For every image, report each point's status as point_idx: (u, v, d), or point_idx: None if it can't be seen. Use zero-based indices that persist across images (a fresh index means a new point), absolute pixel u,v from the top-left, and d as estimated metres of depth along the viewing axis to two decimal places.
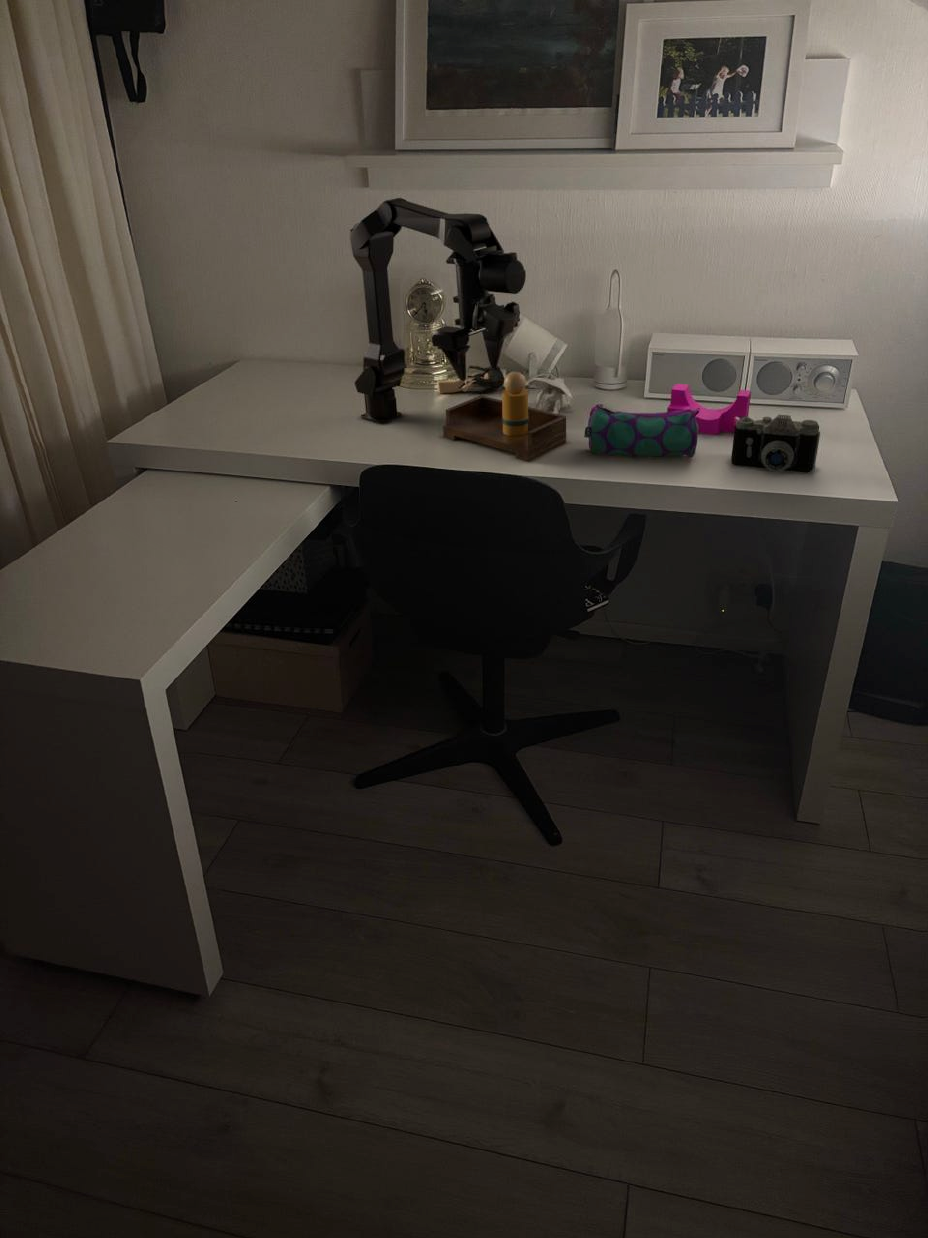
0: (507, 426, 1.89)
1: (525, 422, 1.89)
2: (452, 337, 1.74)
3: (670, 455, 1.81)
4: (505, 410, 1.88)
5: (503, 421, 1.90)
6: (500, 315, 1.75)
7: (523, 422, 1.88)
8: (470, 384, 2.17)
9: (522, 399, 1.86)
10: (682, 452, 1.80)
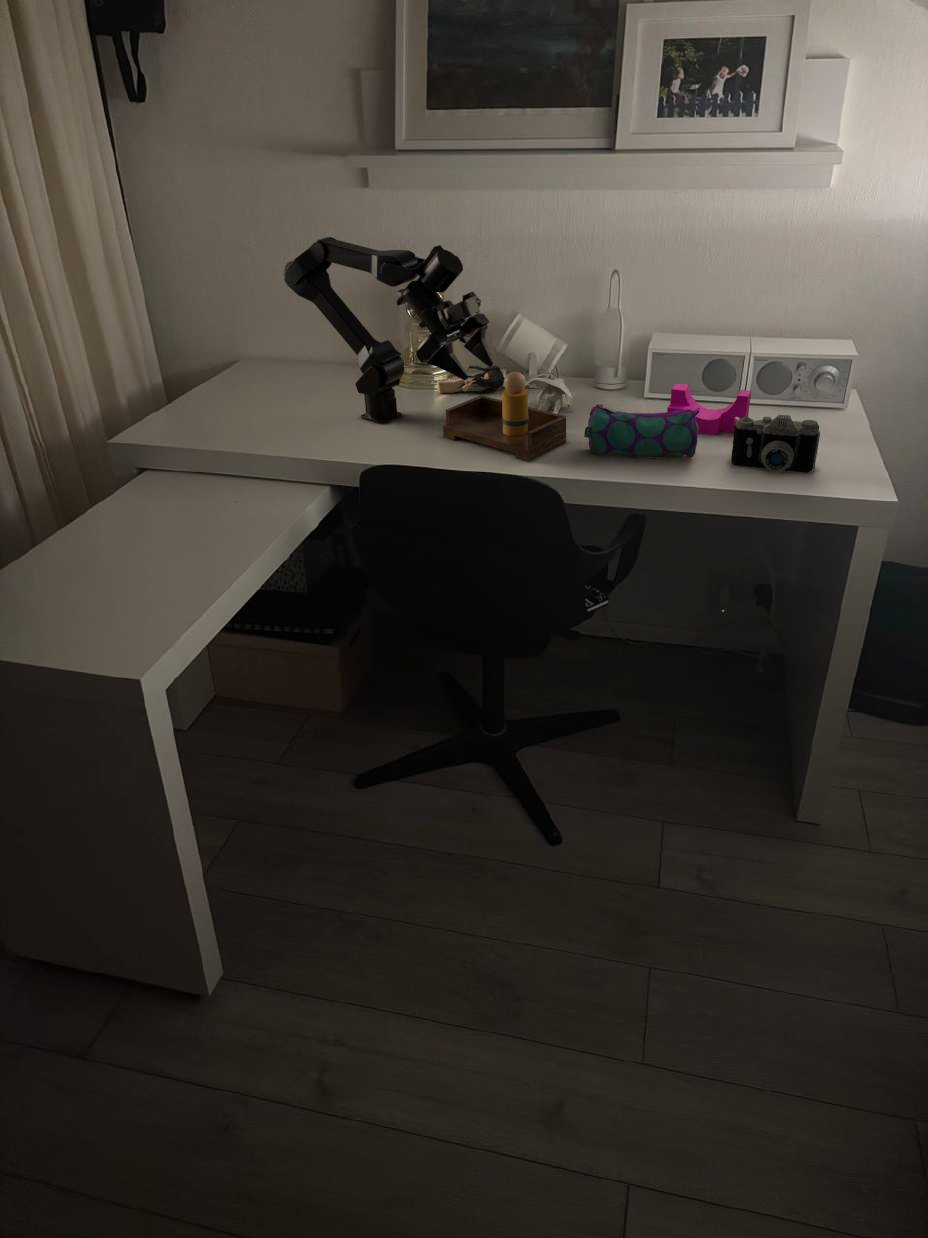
0: (507, 426, 1.89)
1: (525, 422, 1.89)
2: (430, 338, 1.81)
3: (670, 455, 1.81)
4: (505, 410, 1.88)
5: (503, 421, 1.90)
6: None
7: (523, 422, 1.88)
8: (470, 384, 2.17)
9: (522, 399, 1.86)
10: (682, 452, 1.80)
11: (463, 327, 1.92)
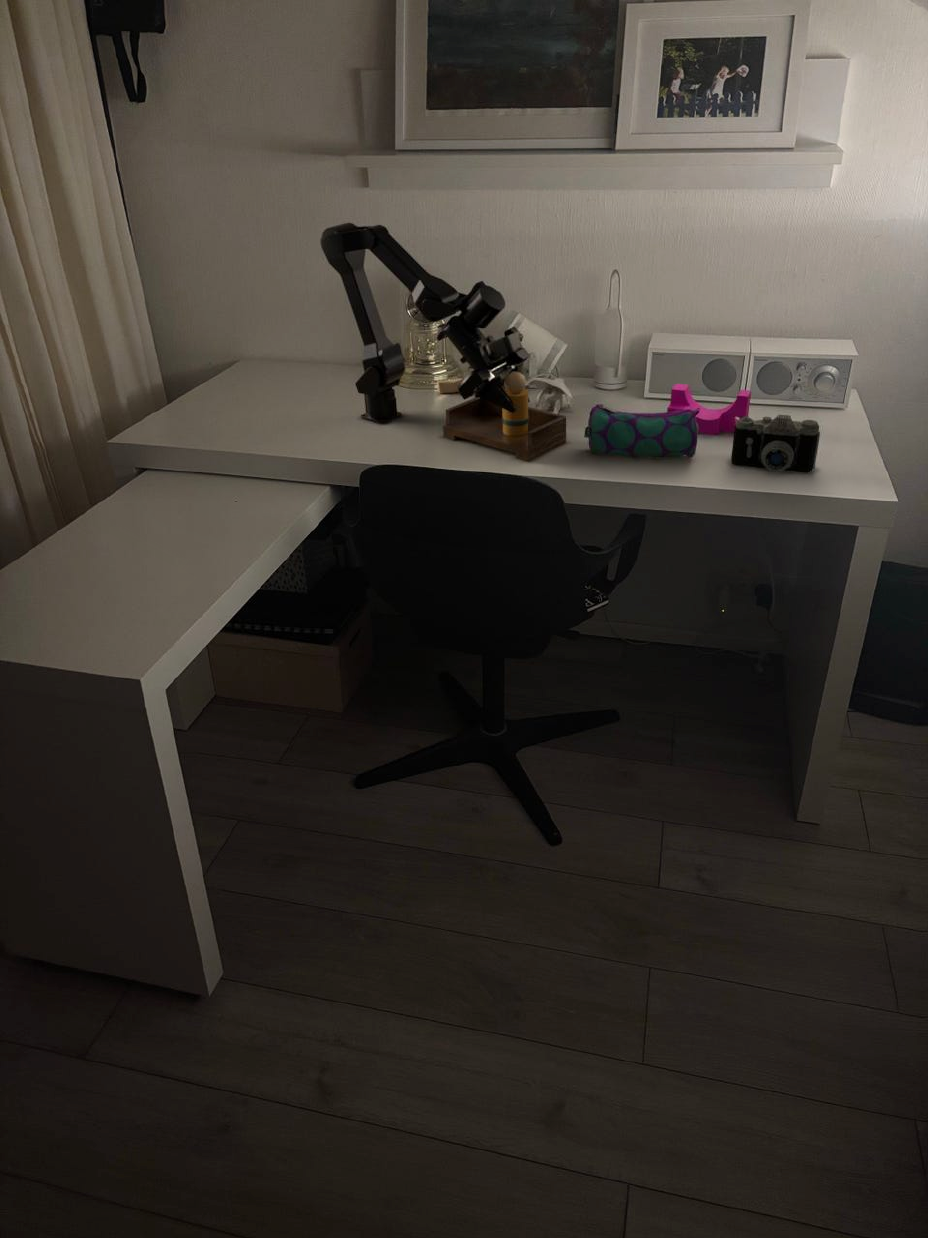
0: (507, 426, 1.89)
1: (525, 422, 1.89)
2: (473, 374, 1.80)
3: (670, 455, 1.81)
4: (505, 410, 1.88)
5: (503, 421, 1.90)
6: (502, 337, 1.82)
7: (523, 422, 1.88)
8: None
9: (522, 399, 1.86)
10: (682, 452, 1.80)
11: (504, 362, 1.91)
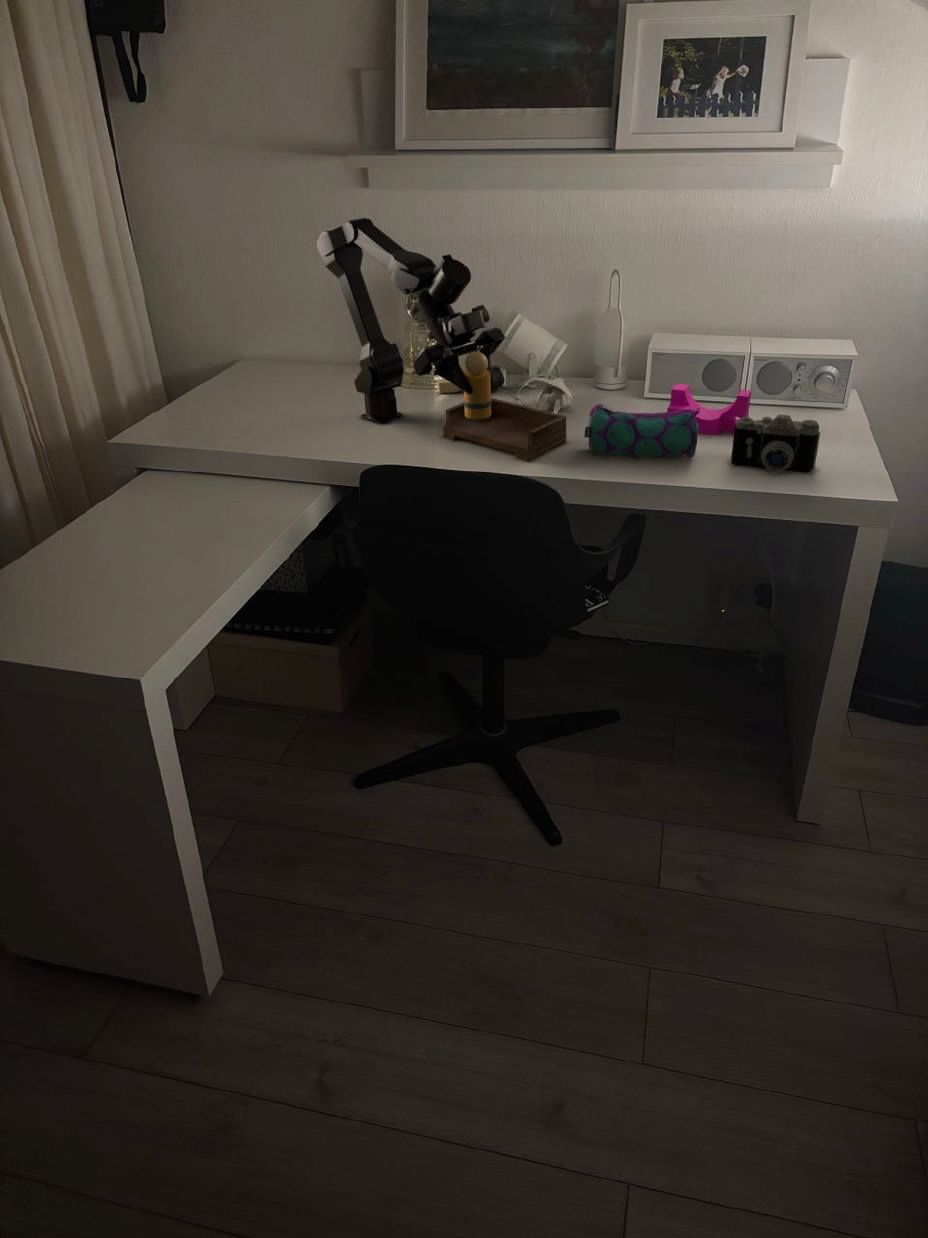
0: (466, 409, 1.82)
1: (484, 406, 1.81)
2: (424, 350, 1.74)
3: (670, 455, 1.81)
4: None
5: (464, 403, 1.82)
6: None
7: (481, 405, 1.80)
8: None
9: (480, 381, 1.78)
10: (682, 452, 1.80)
11: (475, 341, 1.83)
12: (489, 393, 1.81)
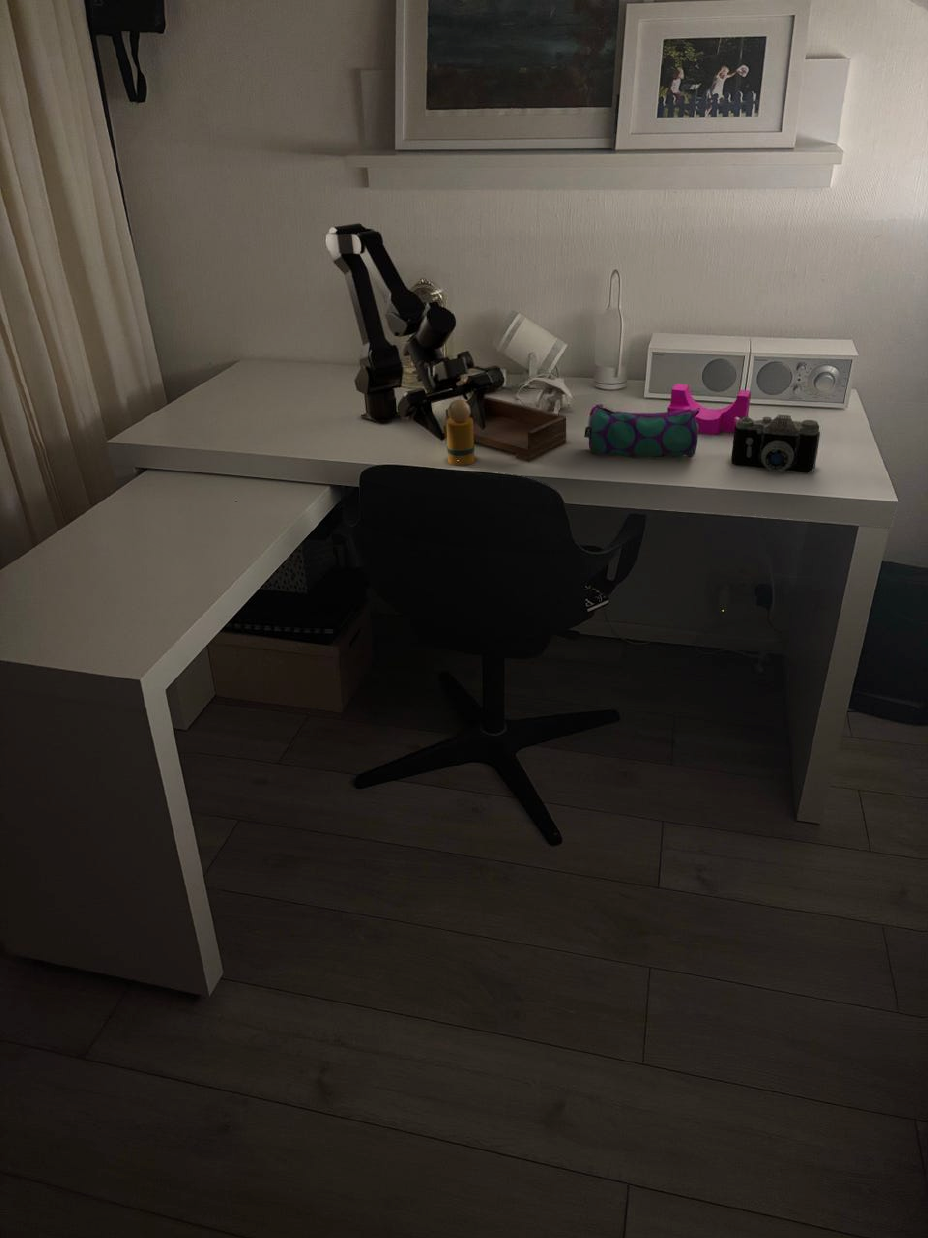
0: (449, 454, 1.85)
1: (466, 453, 1.83)
2: (405, 395, 1.78)
3: (670, 455, 1.81)
4: (447, 438, 1.84)
5: (447, 448, 1.85)
6: None
7: (463, 452, 1.83)
8: None
9: (461, 429, 1.81)
10: (682, 452, 1.80)
11: (462, 385, 1.85)
12: (471, 440, 1.83)
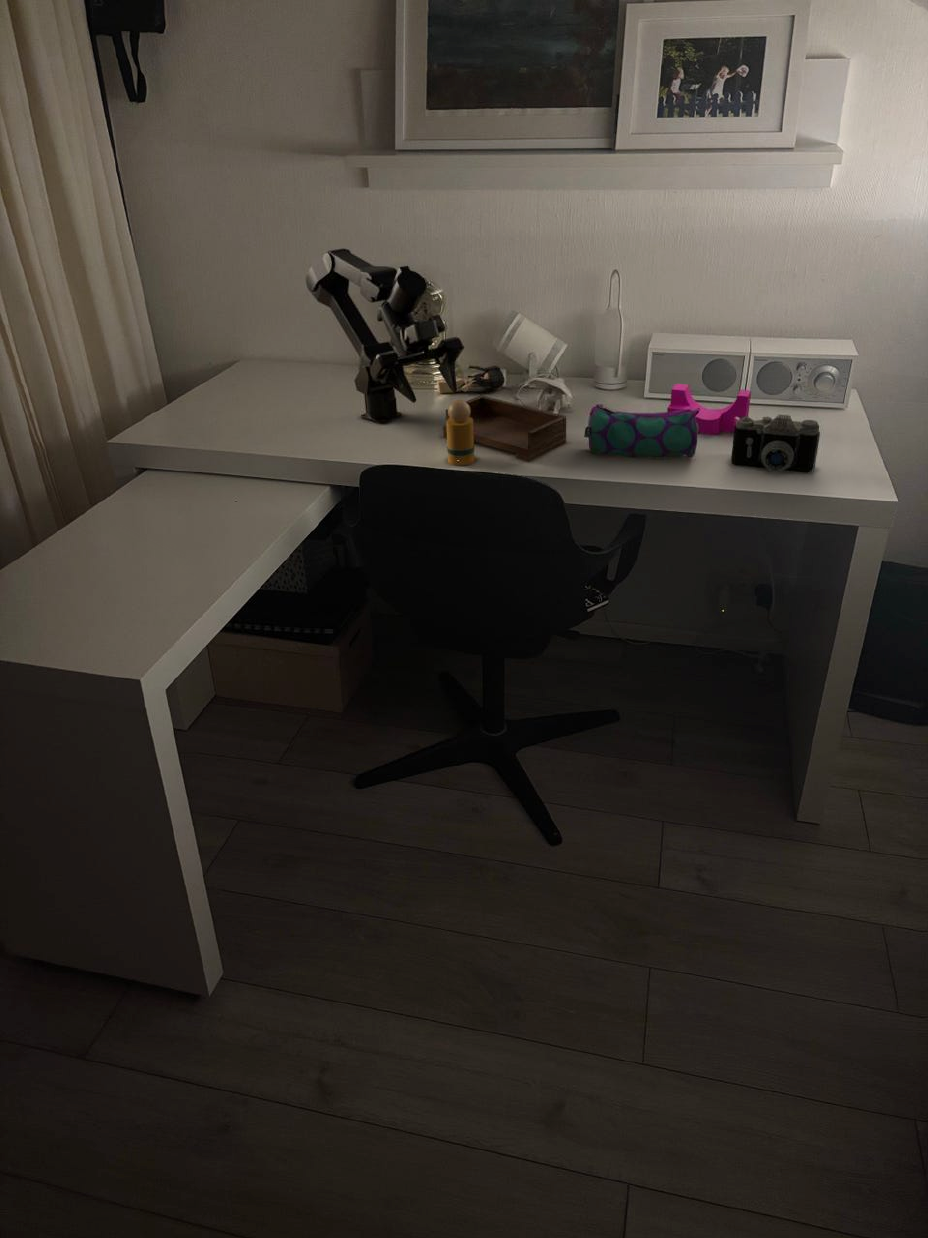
0: (449, 454, 1.85)
1: (466, 453, 1.83)
2: (377, 357, 1.82)
3: (670, 455, 1.81)
4: (447, 438, 1.84)
5: (447, 448, 1.85)
6: None
7: (463, 452, 1.83)
8: (470, 384, 2.17)
9: (461, 429, 1.81)
10: (682, 452, 1.80)
11: (434, 349, 1.90)
12: (471, 440, 1.83)
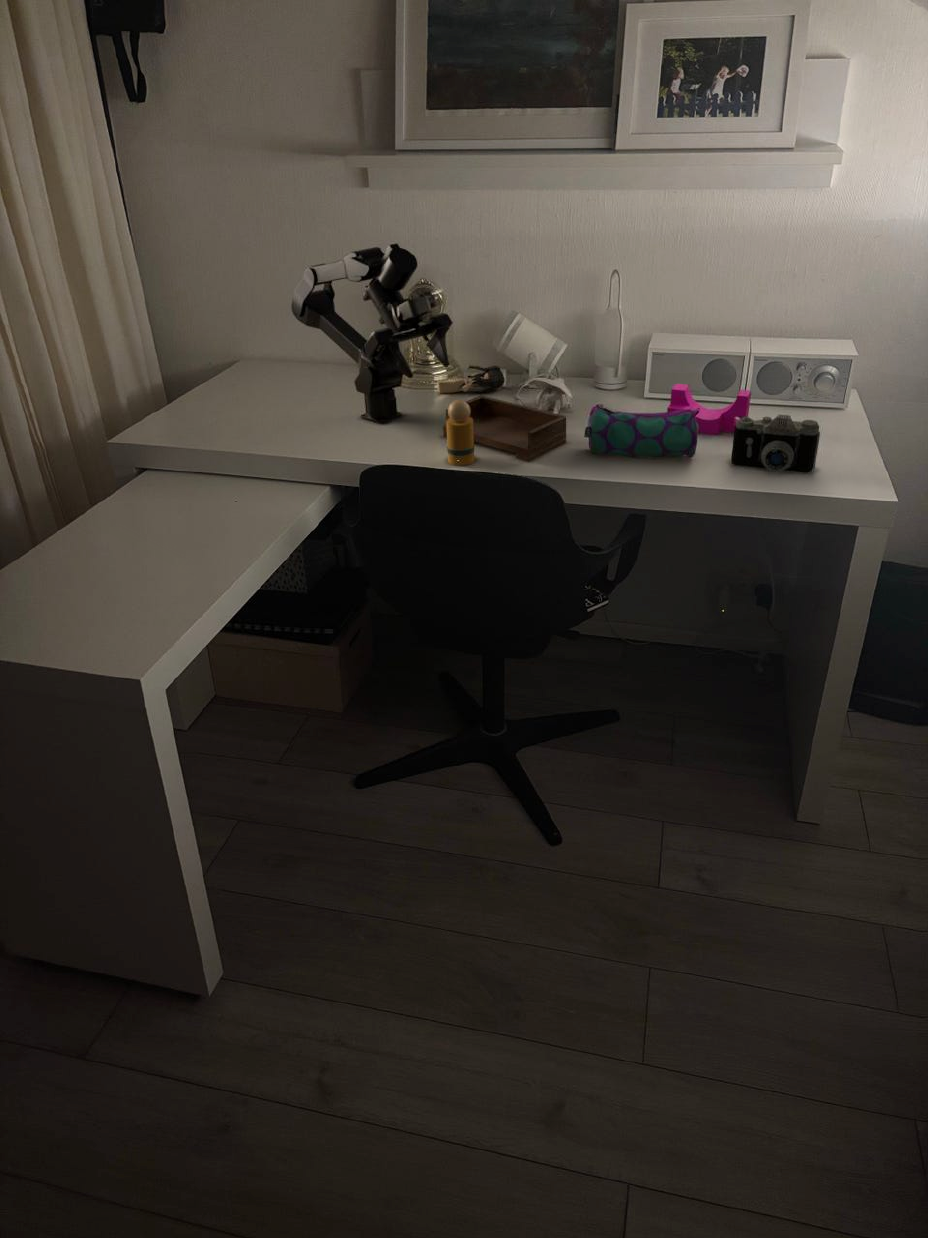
0: (449, 454, 1.85)
1: (466, 453, 1.83)
2: (374, 334, 1.84)
3: (670, 455, 1.81)
4: (447, 438, 1.84)
5: (447, 448, 1.85)
6: None
7: (463, 452, 1.83)
8: (470, 384, 2.17)
9: (461, 429, 1.81)
10: (682, 452, 1.80)
11: (424, 326, 1.93)
12: (471, 440, 1.83)
